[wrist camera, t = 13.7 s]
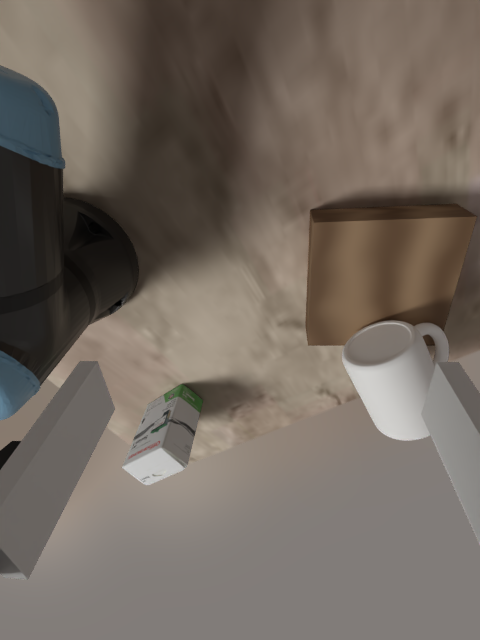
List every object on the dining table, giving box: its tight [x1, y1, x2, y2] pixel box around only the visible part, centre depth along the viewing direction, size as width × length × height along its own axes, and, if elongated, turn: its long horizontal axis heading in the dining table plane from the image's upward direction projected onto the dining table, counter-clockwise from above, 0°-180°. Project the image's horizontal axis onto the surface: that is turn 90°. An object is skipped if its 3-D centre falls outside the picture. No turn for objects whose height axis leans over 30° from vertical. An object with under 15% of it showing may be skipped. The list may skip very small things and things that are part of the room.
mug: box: [342, 320, 449, 441], centre depth 39 cm, size 12×8×10 cm
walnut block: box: [306, 204, 477, 345], centre depth 40 cm, size 15×15×5 cm
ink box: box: [122, 384, 203, 485], centre depth 52 cm, size 9×5×12 cm, turn 130°
